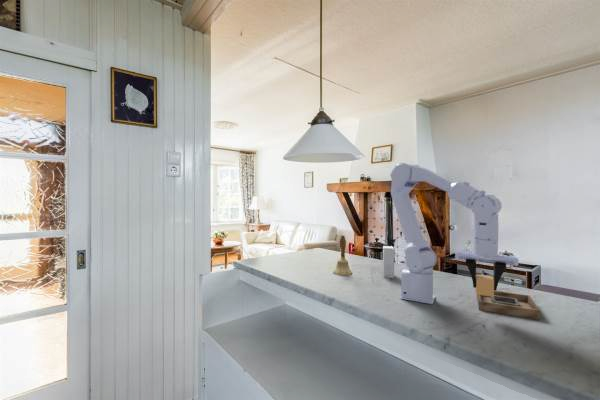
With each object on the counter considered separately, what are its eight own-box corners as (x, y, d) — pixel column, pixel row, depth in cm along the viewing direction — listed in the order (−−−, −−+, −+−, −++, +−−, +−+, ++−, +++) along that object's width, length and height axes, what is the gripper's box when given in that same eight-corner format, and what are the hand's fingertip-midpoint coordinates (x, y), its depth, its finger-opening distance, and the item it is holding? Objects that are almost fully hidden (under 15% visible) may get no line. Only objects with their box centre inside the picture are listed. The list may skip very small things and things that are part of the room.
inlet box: (478, 309, 85) (479, 301, 85) (476, 295, 97) (476, 288, 97) (539, 319, 78) (540, 310, 78) (529, 303, 91) (529, 295, 91)
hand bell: (353, 275, 121) (354, 237, 120) (333, 275, 121) (334, 236, 120) (350, 270, 129) (351, 234, 129) (331, 270, 129) (332, 234, 129)
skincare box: (394, 278, 117) (394, 248, 117) (383, 277, 118) (383, 248, 118) (392, 274, 123) (393, 246, 123) (382, 273, 124) (382, 245, 124)
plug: (476, 294, 80) (476, 277, 79) (475, 290, 83) (475, 274, 83) (493, 296, 78) (494, 280, 77) (492, 292, 81) (492, 276, 81)
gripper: (455, 238, 80) (454, 287, 80) (520, 243, 73) (519, 297, 73) (455, 235, 86) (454, 281, 86) (516, 239, 79) (515, 289, 79)
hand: (484, 288), depth 80 cm, fingers closed on plug, 4 cm apart
